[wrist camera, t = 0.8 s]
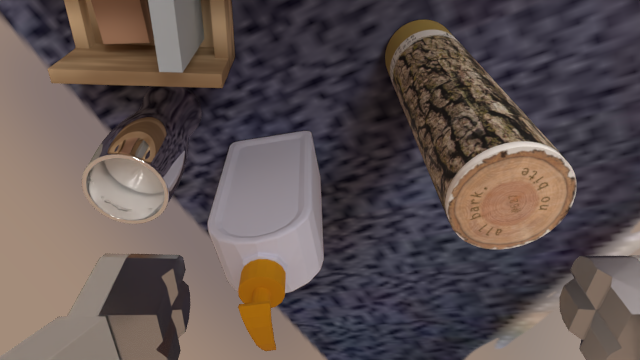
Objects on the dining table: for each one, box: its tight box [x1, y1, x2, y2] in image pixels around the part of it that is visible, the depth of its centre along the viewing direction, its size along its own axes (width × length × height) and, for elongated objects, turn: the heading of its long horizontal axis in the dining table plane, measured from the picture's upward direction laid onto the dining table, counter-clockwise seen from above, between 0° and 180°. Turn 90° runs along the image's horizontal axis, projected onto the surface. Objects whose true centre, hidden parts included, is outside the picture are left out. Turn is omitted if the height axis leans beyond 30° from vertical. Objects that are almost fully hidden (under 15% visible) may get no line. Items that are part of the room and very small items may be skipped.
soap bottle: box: [207, 131, 324, 351], centre depth 43 cm, size 9×7×23 cm
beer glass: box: [82, 86, 202, 224], centre depth 42 cm, size 7×7×15 cm
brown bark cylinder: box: [385, 20, 576, 249], centre depth 35 cm, size 7×7×25 cm
